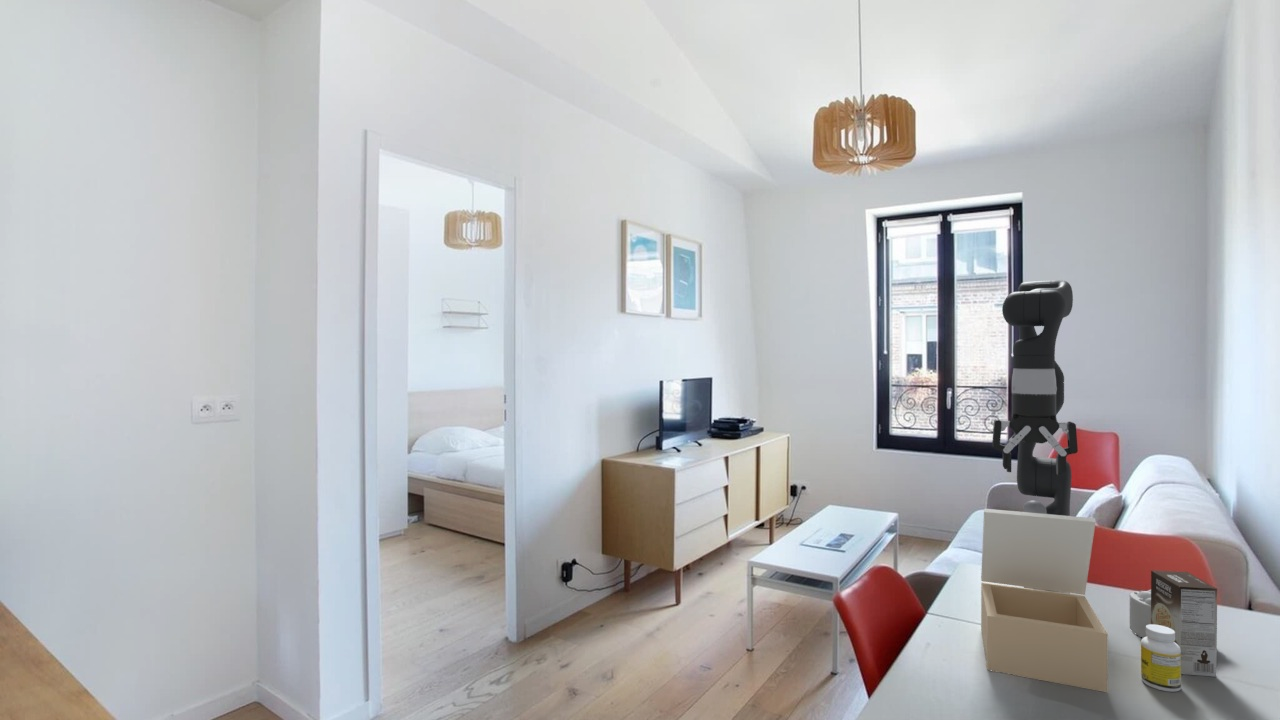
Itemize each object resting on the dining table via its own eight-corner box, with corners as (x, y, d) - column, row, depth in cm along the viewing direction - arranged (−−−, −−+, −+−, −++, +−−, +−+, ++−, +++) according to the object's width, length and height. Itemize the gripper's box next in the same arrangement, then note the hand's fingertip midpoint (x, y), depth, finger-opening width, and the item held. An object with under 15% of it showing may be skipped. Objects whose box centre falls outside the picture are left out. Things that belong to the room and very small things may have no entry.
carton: (981, 629, 133) (981, 582, 133) (1084, 646, 126) (1084, 595, 125) (987, 670, 116) (987, 615, 116) (1107, 692, 108) (1107, 633, 108)
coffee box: (1148, 651, 123) (1148, 568, 123) (1186, 654, 122) (1186, 571, 122) (1178, 674, 114) (1178, 585, 114) (1219, 678, 113) (1219, 588, 113)
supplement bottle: (1141, 673, 115) (1141, 619, 115) (1180, 683, 111) (1180, 627, 111) (1140, 685, 110) (1140, 629, 110) (1181, 696, 107) (1181, 638, 107)
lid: (981, 581, 133) (979, 558, 138) (1084, 594, 125) (1079, 569, 130) (984, 511, 124) (982, 490, 129) (1095, 522, 117) (1089, 498, 122)
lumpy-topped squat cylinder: (1186, 655, 122) (1186, 610, 122) (1115, 628, 134) (1115, 587, 134) (1220, 647, 125) (1220, 603, 125) (1148, 621, 137) (1148, 581, 137)
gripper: (1072, 391, 126) (1072, 472, 126) (991, 389, 132) (991, 467, 132) (1080, 393, 119) (1080, 479, 120) (994, 391, 126) (993, 473, 126)
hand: (1033, 473), depth 126 cm, fingers open, 8 cm apart
